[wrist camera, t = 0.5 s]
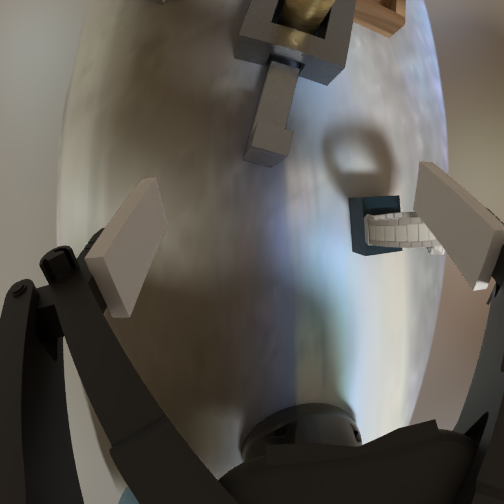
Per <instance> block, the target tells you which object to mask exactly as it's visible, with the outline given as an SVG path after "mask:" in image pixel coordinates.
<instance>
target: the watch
mask: <svg viewBox="0 0 504 504" xmlns="http://www.w3.org/2000/svg"><path fill="white" fill-rule="evenodd" d="M349 208H350V220H351V234H352V251H353V252H355V253H358V254H361V255H364V256H369V255H376V254H383V253H390V252H397V251H402V248H420V247H427V250H428V252H429V253H430V254H440V255H443V254H444V253H445V249H444V248H443V247H442V245H441V244H440V243H439V241H438V240H437V239H436V237H435V236H434V235H433V234H432V232H431V231H430V230H429V228H428V227H427V226H426V225H425V223H424V222H423V221H422V220H421V218H420V217H419V216H418V215H417V213H416V212H403V217H402V212H400V198H399V196H379V197H364V198H349ZM411 214H412V217H411ZM408 217H409V218H408Z"/></svg>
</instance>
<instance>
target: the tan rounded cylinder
mask: <svg viewBox="0 0 504 504" xmlns="http://www.w3.org/2000/svg"><path fill="white" fill-rule="evenodd" d="M335 1H336V0H285V2H284V5H283V7H282V10H281V13H280V15H279V18H278V20H277V23H276V24H278V25H282V26H285V27H289V28H292V29H295V30H298V31H301V32H304V33H307V34H310V35H314V33H315V32H316V30H317V28H318V27H319V25H320V24H321V22H322V21H323V19H324V17H325V16H326V14H327V13H328V11H329V10H330V8H331V7H332V5H333V4H334V2H335Z"/></svg>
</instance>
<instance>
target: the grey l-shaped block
mask: <svg viewBox="0 0 504 504" xmlns="http://www.w3.org/2000/svg"><path fill="white" fill-rule="evenodd" d="M299 71H300V69H298V68H294V67H291V66H288V65H285V64H281V63H278V62H275V61H272V62H271V64H270V66H269V69H268V71H267V74H266V78H265V81H264V85H263V88H262V92H261V95H260V99H259V103H258V106H257V110H256V113H255V117H254V121H253V124H252V128H251V132H250V135H249V139H248V143H247V146H246V150H245V154H244V158H243V160H245V161H249V162H253V163H257V164H261V165H264V166H268V167H272V166H274V165H275V164H277V163H278V162H279V161H281V160H282V159H284V158H285V157H286V156H288V151H289V147H290V143H291V139H292V135H293V131H290V130H286V129H285V126H286V122H287V118H288V114H289V110H290V107H291V103H292V99H293V95H294V91H295V87H296V83H297V79H298V75H299Z"/></svg>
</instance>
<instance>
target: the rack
mask: <svg viewBox="0 0 504 504" xmlns="http://www.w3.org/2000/svg"><path fill="white" fill-rule="evenodd" d="M405 6H406V0H356V6H355V12H354V18H353V22H355V23H357V24H360V25H362V26H364V27H367V28H369V29H371V30H373V31H375V32H377V33H380V34H382V35H384V36H386V37H388V38H390V37H391V36H392V35H393V34H394V33H395V32H397V31H398V30H399V29H400V28H401V27H402V26H404V25H405Z"/></svg>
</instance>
